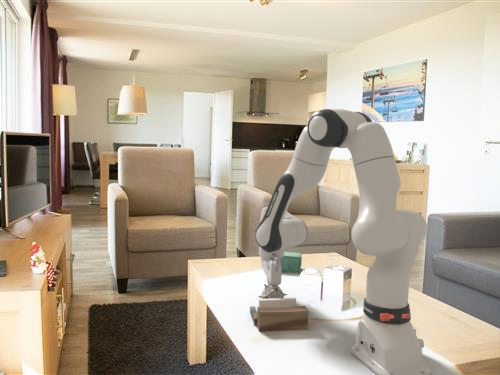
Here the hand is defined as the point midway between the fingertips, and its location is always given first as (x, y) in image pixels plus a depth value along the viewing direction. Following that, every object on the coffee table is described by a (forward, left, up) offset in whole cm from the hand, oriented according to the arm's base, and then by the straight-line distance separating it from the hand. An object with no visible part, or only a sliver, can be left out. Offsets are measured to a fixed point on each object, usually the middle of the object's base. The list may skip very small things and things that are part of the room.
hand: (270, 288), depth 163 cm
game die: (-5, 0, -5) cm, 7 cm away
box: (+37, -13, -5) cm, 40 cm away
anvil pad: (-13, 0, -5) cm, 14 cm away
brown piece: (-17, 0, -5) cm, 18 cm away
